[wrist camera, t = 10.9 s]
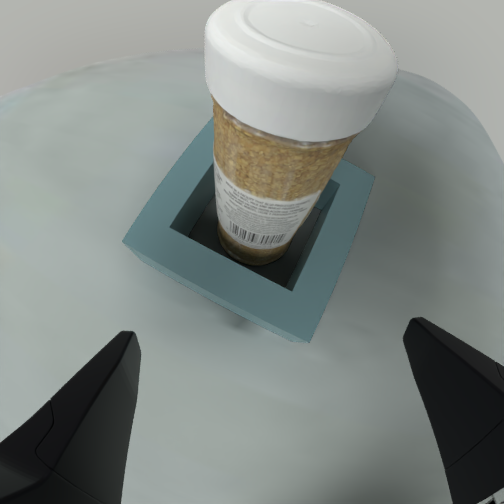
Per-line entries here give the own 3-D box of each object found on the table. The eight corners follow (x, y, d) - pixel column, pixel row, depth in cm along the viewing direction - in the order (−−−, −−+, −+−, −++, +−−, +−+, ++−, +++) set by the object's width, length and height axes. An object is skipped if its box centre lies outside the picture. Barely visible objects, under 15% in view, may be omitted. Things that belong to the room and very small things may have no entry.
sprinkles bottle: (302, 218, 18) (411, 36, 5) (270, 281, 17) (389, 122, 4) (239, 185, 18) (262, -22, 6) (201, 244, 17) (157, 34, 4)
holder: (292, 341, 16) (309, 342, 13) (141, 260, 16) (121, 241, 13) (352, 202, 19) (375, 177, 15) (223, 138, 19) (223, 104, 16)
